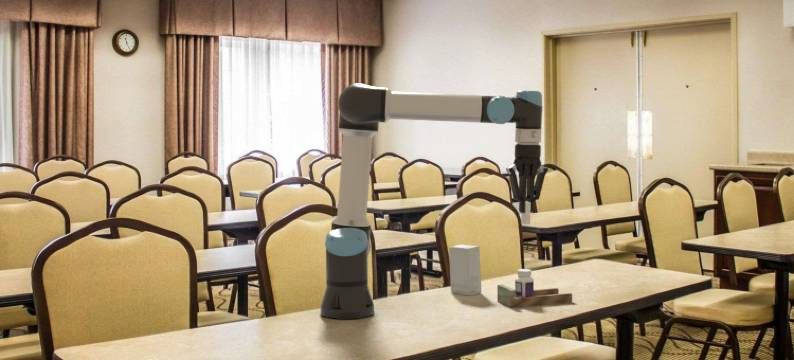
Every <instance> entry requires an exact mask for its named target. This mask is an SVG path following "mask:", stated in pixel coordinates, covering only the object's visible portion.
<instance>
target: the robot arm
mask: <svg viewBox="0 0 794 360" xmlns="http://www.w3.org/2000/svg"><path fill="white" fill-rule="evenodd" d="M337 105H338V106H337V107H338V111H339V115H338V116H339V117H338V130H339V132H340V133H341V134H342V136H343V137H342V147H341V159H340V161H341V162H340V172H339V173H340V174H339V175H340V176H339V187H338V188H339V189H338V199H337V200H338V201H337V202H338V204H337V216H336V217H334V218H333V219H332V220H331V229H330V231H328V233H327V234H326V235H325V241H324V246H325V272H326V274H325V276H326V277H325V278H326V286H325V291H324V292H323V293H324V294H323V297H322V301H321V304H320V315H321V314H322V315H323V316H322V315H321V316H322V317H324V316H326V317H325V318H328V317H330V318H329V319H334V318H337V319H336V320H355V319H354V318H357V319H362V317H364V318H368V317H370V315H371V316H373V315H374V314H375V303H374V301H373V297H372V295H371V292H370V289H369V284H368V283H369V281H368V280H369V279H368V277H369V276H368V274H369V273H368V271H369V270H368V269H369V268H368V267H369V265H368V264H369V263H368V260H369V259H368V258H369V253H370V251H371V230H372V229H371V228H372V227H371V225H372V223H371V222H370V221H369V220H368V219H367V215H368V214H367V213H368V202H369V201H368V200H369V186H370V173H371V163H372V162H371V160H372V149H373V147H372V145H373V138H374V136H375V135H377V134H378V132H379V125H380V123H387V122H388V121H390V120H406V121H407V120H408V121H432V122H434V121H435V122H454V123H455V122H456V123H458V122H459V123H479V124H481V123H482V124H483V123H484V124H495V125H504V124H515V133H514V134H515V136H514V142H515V143H516V144H515V145H514V160H513V164H512V165H511V166H507V167H506V168H505V170H506V172H507V174H508V177H509V183H510V187H511V193H512V198H513V199H514V200H515V201H517V202H518V203H519V205H518V212H519V213H520V214H521V218H520V220H521V221H520V224H522V225H524V226H525V225H526V226H527V225H530V224H531V214H532V213H533V211H534V203H536V202H535V201H536V200H537V201H538V200H540V197H541V192H542V190H543V189H542V188H543V184H544V181H545V177H546V174H547V173H548V172H549V168H548V167H546V166H544V165H542V161H541V154H542V151H541V150H542V146H541V142H542V121H543V107H544V106H543V95H542V93H541V91H538V90H518V91H516V95H515V96H511V97H508V96H505V95H497V96H496V95H478V94H477V95H476V94H475V95H474V94H452V93H451V94H450V93H433V92H432V93H430V92H428V93H427V92H409V91H408V92H406V91H391V90H390V89H389V88H388V87H377V86H372V85H368V84H364V83H353V84H350V85H348V86H346V87H345V88H344V89H343V90H342V91H341V92H340V95H339V97H338V101H337ZM516 172H517V173H518V177H517V173H516ZM536 173H537V175H536ZM367 316H368V317H367Z"/></svg>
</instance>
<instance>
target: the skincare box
mask: <svg viewBox="0 0 794 360" xmlns="http://www.w3.org/2000/svg"><path fill="white" fill-rule="evenodd" d="M480 251H481V250H480V245H469V244H468V245H467V244H457V245H453V246H448V252H449V253H448V255H449V259H448V260H449V274H450V275H449V277H450V280H449V282H450V293H451V294H458V295H462V296H463V295H464V296H474V295H479V294H482V272H481V254H480Z"/></svg>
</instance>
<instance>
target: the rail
mask: <svg viewBox="0 0 794 360" xmlns="http://www.w3.org/2000/svg"><path fill="white" fill-rule="evenodd" d="M559 291H560V290H559V288H557V287H555V288H551V287H550V288H542V289H541V288H540V289H534V296H531V297H520V298H516V290H515V288H511V287H510V286H507V285H504V284H497V302H498V303H500V304H502V305H505V306H507V307H509V308H520V307H521V308H522V307H534V306H544V305H554V304H566V303H573V293H572V292H568V293H567V292H566V293H560V292H559Z"/></svg>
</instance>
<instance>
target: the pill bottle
mask: <svg viewBox="0 0 794 360" xmlns="http://www.w3.org/2000/svg"><path fill="white" fill-rule="evenodd" d="M517 275H518V276H517V277H515V279H514V284H515V285H514V287H515V288H514V289H515V290H516V298H520V297H531V296H534V290H535V289H534V278H533V277H532V269H527V268H522V269H521V268H520V269H517Z"/></svg>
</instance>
